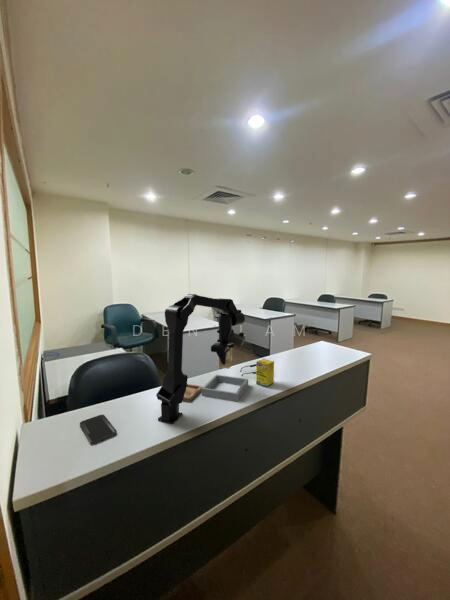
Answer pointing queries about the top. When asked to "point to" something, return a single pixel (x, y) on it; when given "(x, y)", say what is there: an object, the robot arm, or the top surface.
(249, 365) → the sunglasses
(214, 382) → the slate bin
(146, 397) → the top surface
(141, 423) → the top surface
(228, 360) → the maple block
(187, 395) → the walnut tray
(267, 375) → the supplement box
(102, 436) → the phone
